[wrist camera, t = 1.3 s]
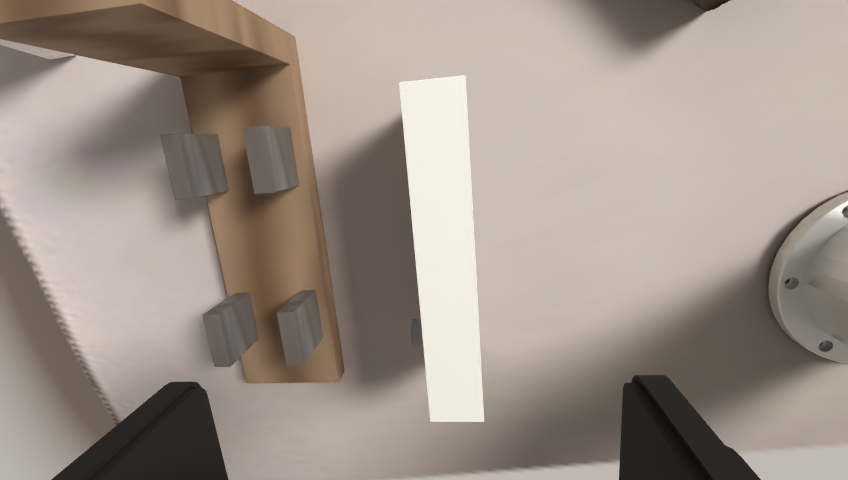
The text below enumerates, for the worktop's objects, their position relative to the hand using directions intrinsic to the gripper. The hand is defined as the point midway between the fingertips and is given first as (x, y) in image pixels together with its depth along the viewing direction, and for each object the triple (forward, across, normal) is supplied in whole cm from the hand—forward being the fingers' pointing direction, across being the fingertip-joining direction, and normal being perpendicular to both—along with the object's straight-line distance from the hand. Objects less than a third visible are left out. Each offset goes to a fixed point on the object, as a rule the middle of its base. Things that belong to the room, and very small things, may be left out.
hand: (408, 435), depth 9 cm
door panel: (+22, 0, 0) cm, 22 cm away
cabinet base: (+22, +14, 0) cm, 26 cm away
